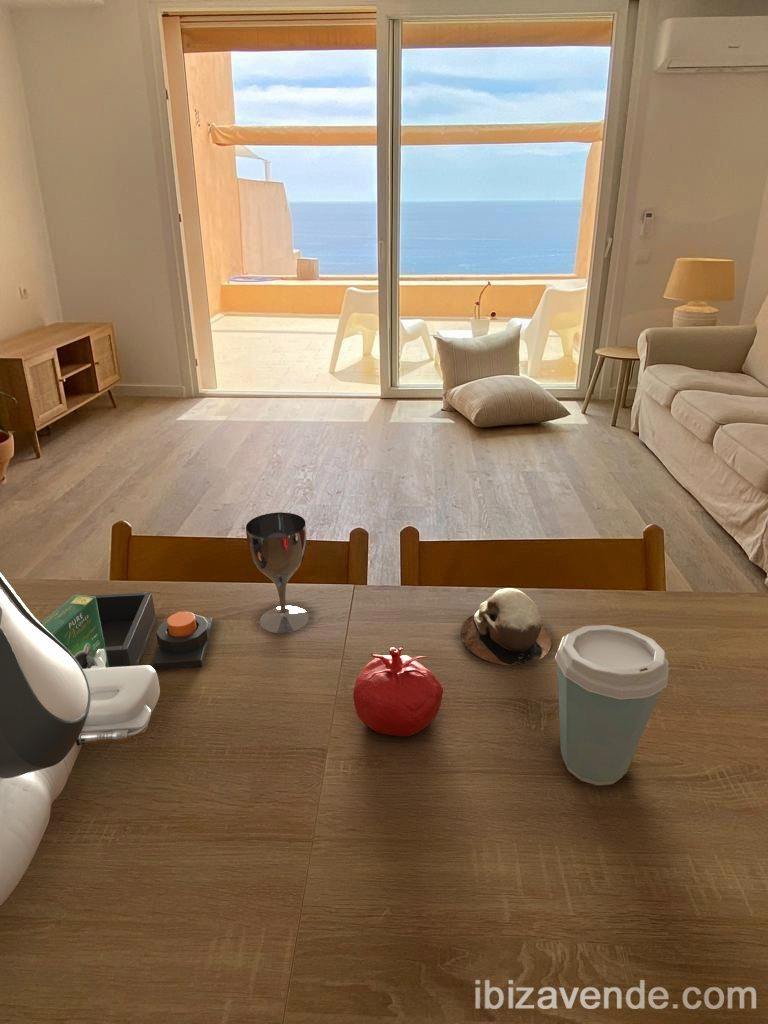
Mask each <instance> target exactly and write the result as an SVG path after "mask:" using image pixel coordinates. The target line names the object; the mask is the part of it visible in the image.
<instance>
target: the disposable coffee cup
mask: <svg viewBox="0 0 768 1024" xmlns="http://www.w3.org/2000/svg"><path fill="white" fill-rule="evenodd" d="M556 651H557V652H556V654H555V657H554V660H555V661H556V666H557V667H556V669H557V692H558V693H557V696H558V715H559V741H560V743H559V744H560V755H561V757H562V760H563V762H564V765H565V767H566V769H567V771H568V772H569V773H570V774H571V775H572V776H574V777H575V778H577V779H578V780H579V781H581V782H584V783H588V784H590V785H594V786H608V785H613V784H615V783H616V782H618V781H619V780H621V779H622V778H623V777H624V776H625V775H626V774H627V773H628V771H629V768H630V765H631V764H632V761H633V759H634V756H635V754H636V751H637V749H638V746H639V744H640V742H641V740H642V737H643V735H644V732H645V729H646V727H647V725H648V723H649V720H650V718H651V716H652V713H653V710H654V708H655V706H656V704H657V701H658V698H659V696H660V694H661V692H662V690H664V689H665V688H667V687H668V683H669V681H668V679H669V673H670V672H669V671H670V670H669V663H670V662H669V661H668V659H667V658H666V651H665V650H664V649H663V648H662V647H661V646H660V645H659V644H658V643H657V642H656V641H655V639H653V638H652V637H649V636H647V635H645V634H643V633H640V632H638V631H636V630H634V629H632V628H627V627H621V626H615V625H610V624H599V625H598V624H597V625H596V624H595V625H584V626H582V627H579V628H577V629H575V630H573V631H571V632H569V633H567V634H566V635H563V636H562V637H561V640H560V643H559V646H558V649H557V650H556Z"/></svg>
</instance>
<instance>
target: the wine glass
mask: <svg viewBox="0 0 768 1024" xmlns="http://www.w3.org/2000/svg"><path fill="white" fill-rule="evenodd" d="M245 533H246V542H247V547H248V551H249V554H250V557H251V559H252V562H253V564H254V566H255V567H256V568H257V570H258V571H260V573H262V574H263V575H264V576H266V577H267V578H268V579H270V580H271V581H272V582H273V583H274V585H275V587H276V590H277V593H278V598H279V606H277V607H274V608H271V609H269V610H268V611H265V613H263V614H262V615H261V616H260V619H259V624H260V626H261V628H262V629H264V630H265V631H267V632H270V633H275V634H286V633H291V632H294V631H297V630H299V629H301V628H303V627H304V626H305V625H306V624H307V623H308V621H309V614H308V612H307V611H306V610H305V609H303V608H300V607H298V606H292V605H287V604H286V603H287V601H286V597H287V596H286V595H287V594H286V593H287V585H288V582H289V580H290V579H291V578H292V576H293V575H295V573H296V572H297V571H298V569H299V568H300V567H301V566H302V564H303V562H304V559H305V555H306V550H307V542H308V541H307V537H308V536H307V523H306V520H305V518H303V517H302V516H301V515H299V514H296V513H291V512H281V511H280V512H270V513H265V514H261V515H258V516H256V517H254V518H252V519H250V520H249V521H248V522H247V523H246V526H245Z"/></svg>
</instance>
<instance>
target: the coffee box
mask: <svg viewBox="0 0 768 1024" xmlns="http://www.w3.org/2000/svg"><path fill="white" fill-rule="evenodd" d="M40 623H41V625H42V626H43V627H44V628H46V629H47V630H48V631H49V632H50V633H51V634H52V635H53V636H54V637H55V638H56V639H57V640H58V641H59V642H60V643H61V644H63V645H64V646H65V647H66V648H67V649H68V650H69V651H70V653H71V654H72V655H73V656H74V657H75V658H76V660H77V661H78V663H79V664H80V666H81V667H82V669H88V664H87V662H86V656H87V654H89V650H98V649H104V650H105V655H106V664H105V667H106V668H108V667H109V664H108V659H107V654H106V648H105V643H104V638H103V633H102V627H101V622H100V617H99V612H98V607H97V601H96V597H94V596H88V595H84V594H73V596H71V597H70V598H69V599H68V600H67V601H66V602H64V603H63V604H62V605H60V606H59V607H58V608H57V609H56V610H55V611H53V612H51V614H49V615H48V616H47V617H46V618H45V619H43V620H42V621H41V622H40Z"/></svg>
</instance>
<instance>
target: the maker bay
mask: <svg viewBox="0 0 768 1024" xmlns="http://www.w3.org/2000/svg"><path fill="white" fill-rule="evenodd" d="M87 596H94V597H96V601H97V607H98V612H99V617H100V622H101V627H102V633H103V638H104V643H105V648H106V654H107V659H108V664H109V667H125V666H141V665H140V664H141V661H142V659H143V656H144V654H145V652H146V649H147V646H148V643H149V641H150V638H151V635H152V633H153V630H154V628H155V625H156V623H157V616H156V610H155V609H156V608H155V605H154V598H153V593H152V591H146V592H145V591H144V592H143V591H142V592H127V593H126V592H125V593H109V594H90V595H88V594H87Z"/></svg>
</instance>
